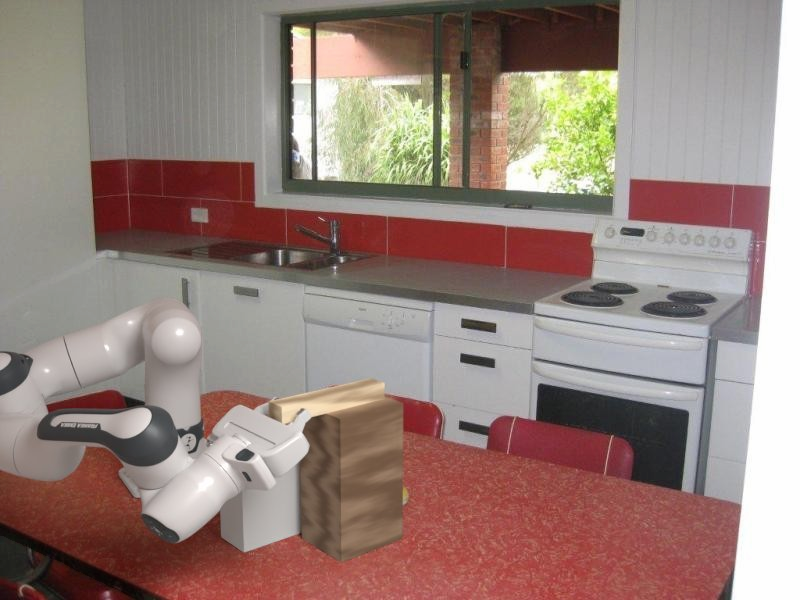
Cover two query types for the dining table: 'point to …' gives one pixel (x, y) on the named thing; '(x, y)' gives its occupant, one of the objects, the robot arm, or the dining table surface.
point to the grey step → (264, 513)
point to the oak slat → (327, 400)
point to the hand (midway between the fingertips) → (293, 405)
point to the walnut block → (353, 479)
